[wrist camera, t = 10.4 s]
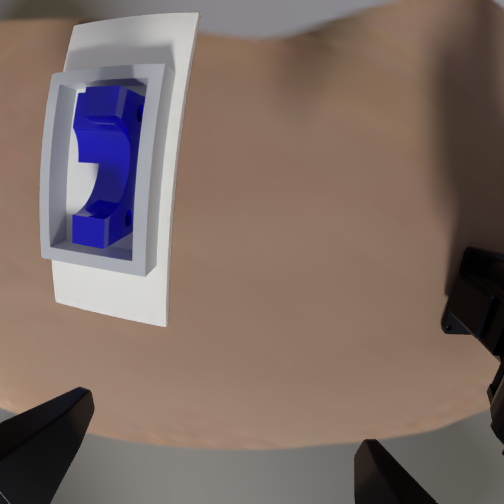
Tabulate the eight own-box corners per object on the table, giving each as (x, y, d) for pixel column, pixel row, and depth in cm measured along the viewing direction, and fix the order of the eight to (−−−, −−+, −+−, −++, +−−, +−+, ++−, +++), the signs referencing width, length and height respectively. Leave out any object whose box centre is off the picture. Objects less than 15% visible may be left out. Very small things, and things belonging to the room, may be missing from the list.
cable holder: (99, 98, 16) (63, 88, 12) (149, 98, 16) (120, 85, 12) (86, 224, 19) (51, 238, 15) (134, 231, 19) (103, 248, 15)
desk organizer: (200, 16, 15) (191, -2, 13) (168, 322, 21) (156, 342, 18) (78, 28, 15) (59, 16, 13) (60, 298, 21) (41, 313, 18)
